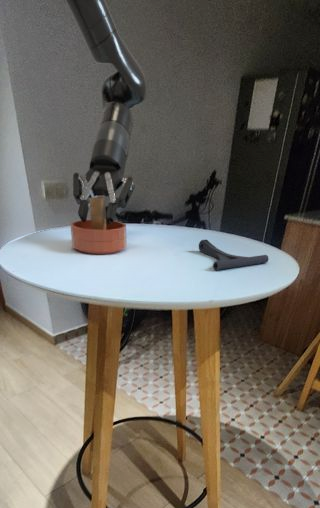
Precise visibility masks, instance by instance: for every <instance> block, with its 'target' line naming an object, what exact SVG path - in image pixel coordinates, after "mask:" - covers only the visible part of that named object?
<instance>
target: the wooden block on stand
mask: <svg viewBox="0 0 320 508" xmlns="http://www.w3.org/2000/svg"><path fill="white" fill-rule="evenodd" d="M89 211H90V220H91V229H95V230H106V213H107V209H106V198H105V197H100V196H97V197H93V198H90V205H89Z"/></svg>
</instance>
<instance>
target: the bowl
mask: <svg viewBox="0 0 320 508" xmlns="http://www.w3.org/2000/svg"><path fill="white" fill-rule="evenodd" d="M69 225H70V226H69V227H70V238H71V246H72V247H73V248H74V249H76V250H77V251H79V252H81V253H84V254H89V255H90V254H91V255H111V254H116V253H117V254H118V253H120V252H121V251H123V250H125V248H127V224H126V223H123V222H121V221H118V220H114V221H113V222H111V224H107V222H106V230H95V229H91V219H86V222H82V220H81V219H80V220H76V221H75V220H74V221H73V222H71V223H70V224H69Z"/></svg>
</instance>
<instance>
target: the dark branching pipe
mask: <svg viewBox="0 0 320 508" xmlns="http://www.w3.org/2000/svg"><path fill="white" fill-rule="evenodd" d="M198 250H199V252H201V254H204V255H207V256H210V257H213V258H215V259H218V260H216V261H214V262H213V264H212V269H213V270H214V271H220V270H227V269H232V268H240V267H246V266H254V265H260V264H267V263H268V262H269V255H267V254H261V255H254V256H240V255H235V254H231V253H227V252H225V251H223V250H221V249H219V248H218V247H216V246H215V245H214V244H212V242H210V241H209V240H208V239H201V240H200V241H199V243H198Z"/></svg>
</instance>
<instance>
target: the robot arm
mask: <svg viewBox="0 0 320 508" xmlns="http://www.w3.org/2000/svg"><path fill="white" fill-rule="evenodd" d="M64 1H65V3H66V5H67V7H68V9H69V11H70V13H71V15H72V18H73V19H74V21H75V24H76V26H77V28H78V30H79V32H80V34H81V36H82V39H83V41H84V43H85V45H86V47H87V49H88V52H89V54H90V56H91V59H93V61H94V62H95V63H96V64H97V65H105V64H111V65H112V66H113V67H114V68H115V69H116V71H114V72H112V73H111V74H109V75H107V76H106V77H105V79H104V80H103V81H102V84H101V88H100V97H101V98H100V99H101V112H102V114H101V119H100V122H99V126H98V127H99V128H98V130H97V132H96V136H95V139H94V143H93V147H92V148H93V149H92V151H91V156H90V161H89V168H88V170H87V171H86V173H85V174H82V175H80V174H79V173H78V172H74V173H73V175H72V192H73V194H72V196H73V198H74V199H75V202H76V204H77V205H79V206H78V211H77V214H78V217H79V219H80V220H82V222H86V220H88V219H87V218H88V214H89V211H90V198H93V197H101V196H104V197H109V202H108V204H107V209H106V222H107V224H111V222H113V221H116V220H115V218H116V214H117V211H118V209H119V208H121V209H126V208H127V206H128V204H129V201H130V199H131V197H132V195H133V193H134V190H135V188H136V187H135V182H134V178H133V177H132V176H127V177H124V173H125V170H126V169H125V168H126V165H127V160H128V156H129V149H130V141H131V140H130V139H131V135H132V129H133V127H134V126H133V125H134V117H133V112H132V110H131V109H132V108H135V107H136V106H138V105H140V104H142V103H143V102H145V100H146V99H147V96H148V81H147V79H146V76H145V72H144V71H143V69H142V68H141V65H140V64H139V62H138V61H137V60H136V59H135V57H134V56H133V54H132V53H131V51H130V50H129V48H128V46H127V45H126V44H125V41H124V39H122V37H121V36H120V33H119V31H118V28H117V26H116V23H115V20H114V18H113V16H112V13H111V11H110V9H109V6H108V4H107V1H106V0H64ZM85 184H86V185H85ZM121 187H122V189H121V191H120V194H119V195H118V197H117V194H116V192H117V191H119V189H120V188H121ZM83 189H84V191H83Z"/></svg>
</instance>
